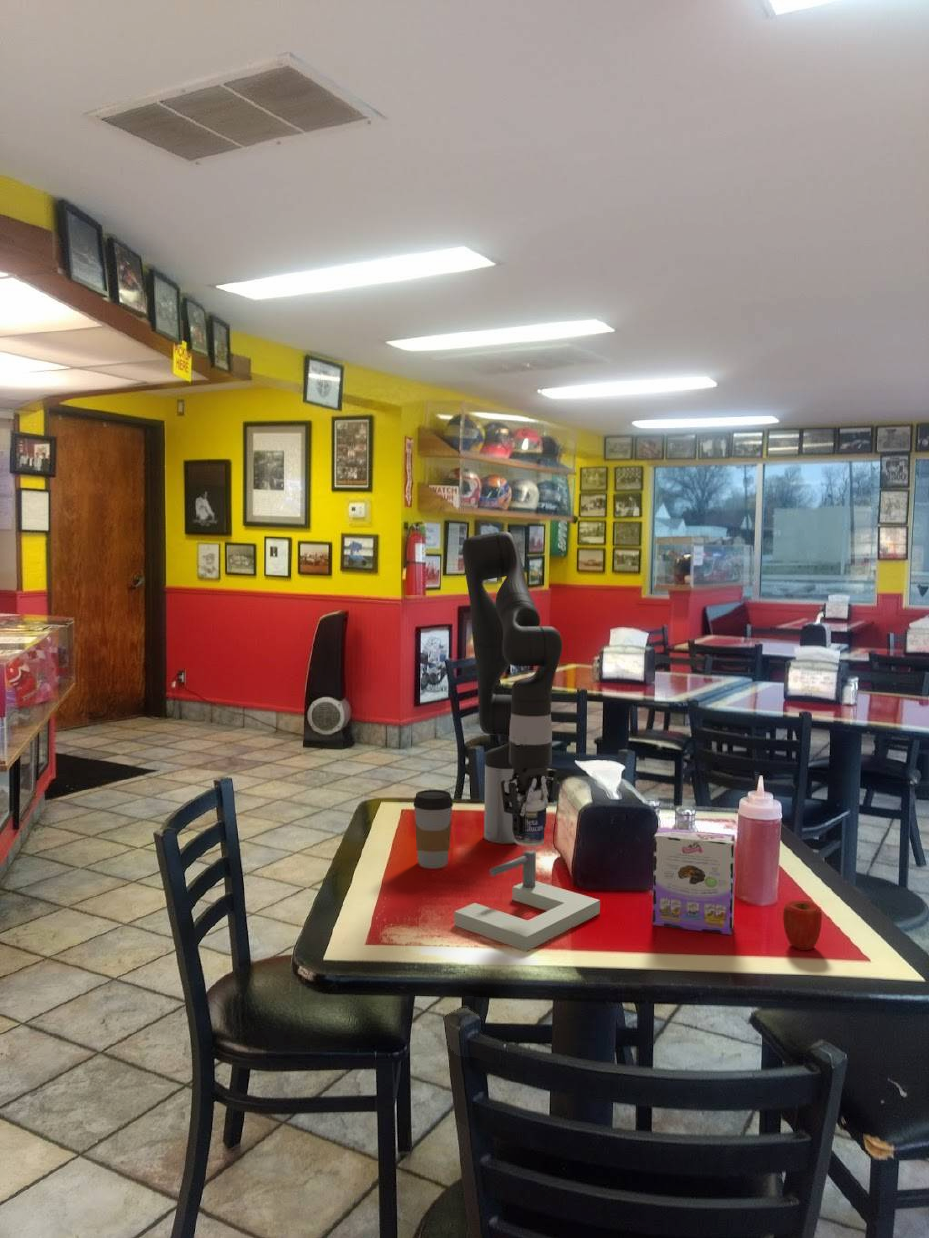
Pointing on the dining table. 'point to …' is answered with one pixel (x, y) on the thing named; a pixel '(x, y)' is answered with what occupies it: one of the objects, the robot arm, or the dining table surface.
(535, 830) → the pill bottle
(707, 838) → the candy box
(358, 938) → the dining table surface
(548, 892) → the grey u-shaped piece
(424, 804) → the coffee cup
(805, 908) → the apple
